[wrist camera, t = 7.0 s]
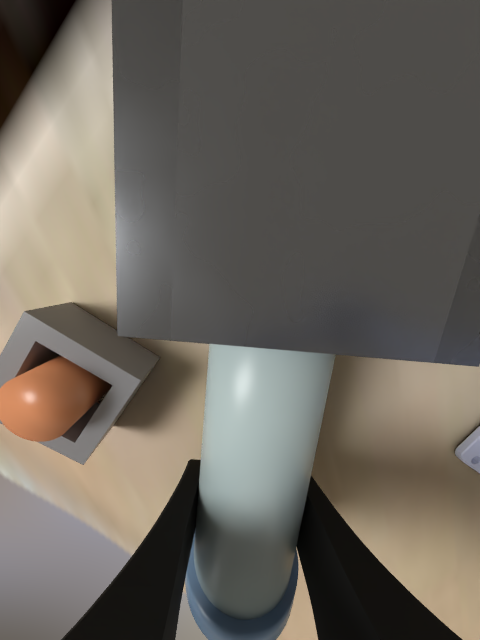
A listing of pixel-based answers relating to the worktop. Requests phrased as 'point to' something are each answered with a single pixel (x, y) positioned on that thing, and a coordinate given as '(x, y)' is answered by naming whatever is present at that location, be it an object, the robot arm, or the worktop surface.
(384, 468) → the worktop surface
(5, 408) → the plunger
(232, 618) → the cylinder
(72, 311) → the block
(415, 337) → the block
